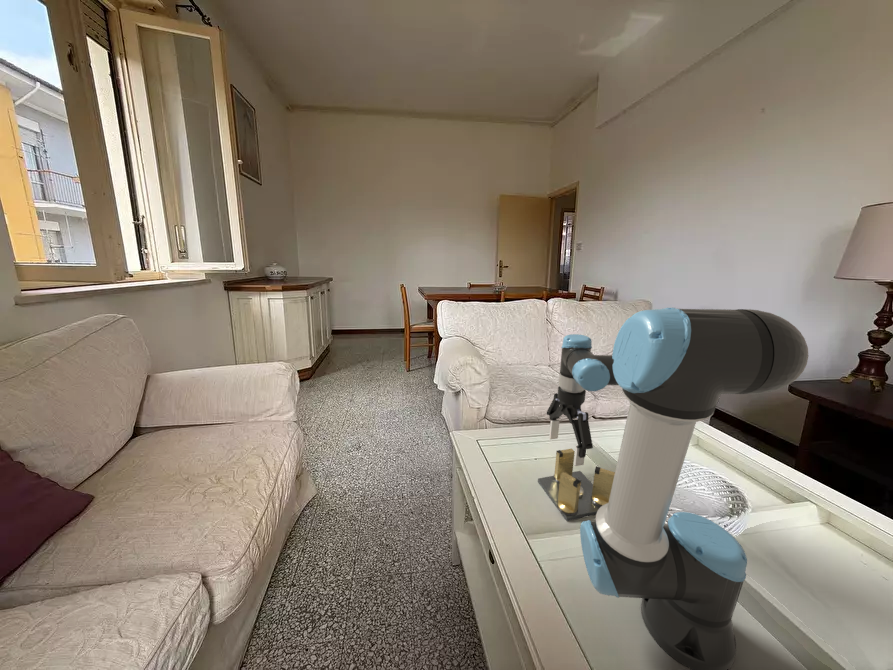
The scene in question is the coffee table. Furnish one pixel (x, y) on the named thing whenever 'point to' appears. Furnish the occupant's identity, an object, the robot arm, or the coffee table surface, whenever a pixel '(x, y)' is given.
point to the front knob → (568, 493)
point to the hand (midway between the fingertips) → (565, 450)
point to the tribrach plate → (585, 497)
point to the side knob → (602, 485)
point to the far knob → (564, 462)
